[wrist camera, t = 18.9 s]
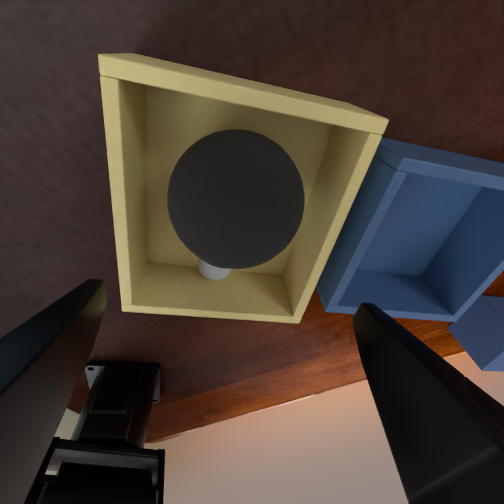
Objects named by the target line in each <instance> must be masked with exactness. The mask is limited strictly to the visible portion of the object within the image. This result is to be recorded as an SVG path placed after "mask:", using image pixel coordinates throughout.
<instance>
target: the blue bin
mask: <svg viewBox="0 0 504 504" xmlns="http://www.w3.org/2000/svg"><path fill="white" fill-rule="evenodd" d="M503 270H504V163H501V162H496V161H492V160H487V159H482V158H477V157H473V156H468V155H463V154H458V153H454V152H449V151H444V150H440V149H435V148H430V147H425V146H421V145H416V144H411V143H406V142H402V141H397V140H392V139H388V138H383V137H382V138H381V140H380V143H379V145H378V147H377V149H376V152H375V154H374V156H373V158H372V161H371V163H370V165H369V167H368V170H367V172H366V174H365V176H364V179H363V181H362V183H361V185H360V188H359V190H358V192H357V194H356V197H355V199H354V201H353V203H352V206H351V208H350V210H349V212H348V215H347V217H346V219H345V221H344V224H343V226H342V228H341V230H340V233H339V235H338V237H337V239H336V242H335V244H334V246H333V248H332V251H331V253H330V255H329V257H328V260H327V262H326V264H325V266H324V269H323V271H322V273H321V275H320V278H319V280H318V282H317V284H316V290H317V292H318V295H319V297H320V300H321V302H322V305H323V307H324V310H325V312H334V313H347V314H355V313H356V311H357V309H358V307H359V306H360V304H361V303H363V302H368V303H374V304H375V305H376V306H378V307H379V308H380V309H381V310H383V311H384V312H385V313H387V314H388V315H389V316H390V317H398V318H411V319H424V320H437V321H449V322H456V321H457V320H458V319H459V318H460V316H462V315H463V314H464V312H465V311H466V310H467V309H468V308H469V307H470V306H471V305H472V304H473V303H474V302H475V300H476V299H477V298H478V297H479V296H480V295H481V294H482V293H483V292H484V291H485V290H486V288H487V287H488V286H489V285H490V284H491V283H492V282H493V281H494V280H495V279H496V278H497V277H498V275H499V274H500V273H501V272H502V271H503Z"/></svg>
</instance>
